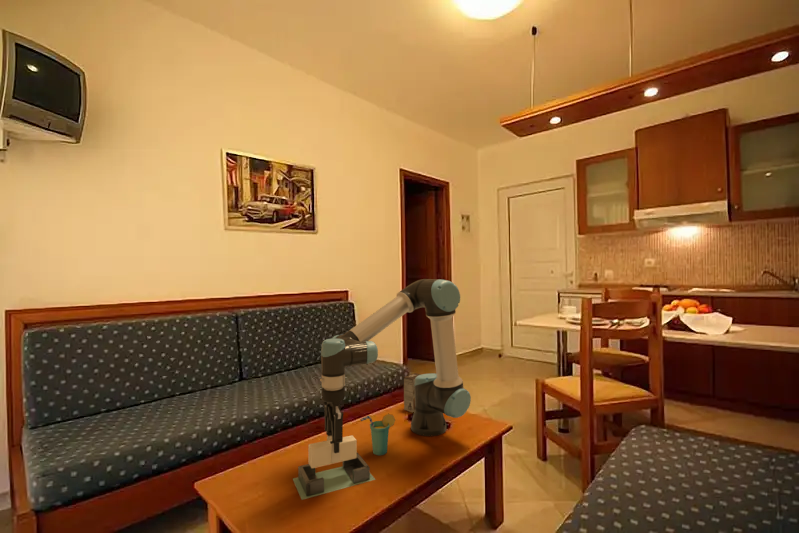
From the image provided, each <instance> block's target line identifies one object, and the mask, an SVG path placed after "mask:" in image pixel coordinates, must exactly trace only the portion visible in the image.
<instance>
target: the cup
mask: <svg viewBox="0 0 799 533" xmlns="http://www.w3.org/2000/svg"><path fill="white" fill-rule="evenodd" d="M368 419H369V421H370V422H369V428H370V435H371V445H372V452H373V455H376V456H384V455H386V454H387V453H388V446H389V445H388V442H389V430H390V428H391V427H393V426H394V425H395V423H396V419H395V415H393V414H391V413H390V412H389V413H386V414H384V415H383V417H382V420H375V421H373V420H372V417H371V416H370V415H367V416H364V417H363V418H361V419H360V422H363V421H366V420H368Z"/></svg>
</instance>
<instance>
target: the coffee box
mask: <svg viewBox="0 0 799 533" xmlns="http://www.w3.org/2000/svg"><path fill="white" fill-rule="evenodd" d="M419 375H422V374H420V373H416V372H415V373H413V374H410V375H406V376H403V411H407V412H410V413H413V412H415V386H414V385H415V378H416V377H417V376H419Z"/></svg>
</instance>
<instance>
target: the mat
mask: <svg viewBox="0 0 799 533" xmlns="http://www.w3.org/2000/svg"><path fill="white" fill-rule="evenodd" d="M316 476H317V478H322V477H323V478H324V492H322V493H319V494H315V495H311V496H308V497H307V496H306V494H305V492H304V490H303V488H302V485H301V483H300V481H299V479H298V476H297V477H294V478H292V481H293V483H294V486H295V488H296V490H297V492H298V494H299V497H300V499H301V501H303V500H306V499H309V498H313V497H317V496H321V495H324V494H329V493H332V492H335V491H340V490H342V489H343V490H344V489H348V488H350V487H354V486H357V485H361V484H364V483H365V484H366V483H368V482H372V481H376V478H375V477H374V475H372V473H371V472H370V480H366V481H363V482H359V483H355V484H354V483H353V482H352V480H351V479H350V477H349V476H348V474H347V473H346V472H345V470H344V469H343V465H342V466H339V467H338V466H337V467H335V468H330V469H326V470H322V471H318V472H316Z"/></svg>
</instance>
